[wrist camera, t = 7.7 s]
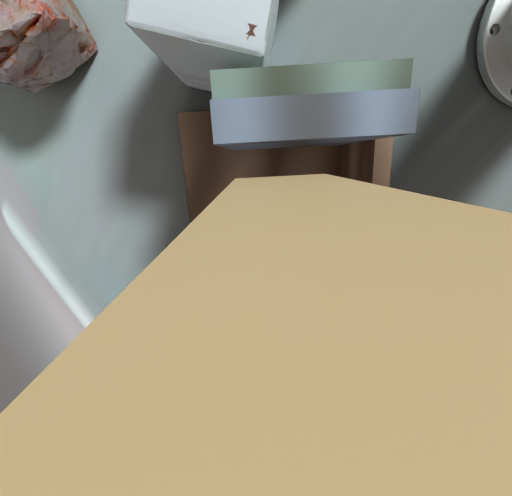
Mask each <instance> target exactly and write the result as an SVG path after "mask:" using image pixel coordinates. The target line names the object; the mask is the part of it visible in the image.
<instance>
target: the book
mask: <svg viewBox="0 0 512 496" xmlns="http://www.w3.org/2000/svg"><path fill="white" fill-rule="evenodd" d="M0 496H512V213H508V212H504V211H499V210H494V209H489V208H485V207H480V206H475V205H471V204H466V203H461V202H456V201H452V200H447V199H442V198H438V197H433V196H428V195H423V194H419V193H414V192H409V191H404V190H400V189H395V188H390V187H386V186H381V185H376V184H371V183H367V182H362V181H357V180H353V179H348V178H343V177H338V176H334V175H329V174H311V175H292V176H273V177H254V178H235V179H234V180H233V181H232V182H231V183H230V184H229V185H228V186H227V187H226V188H225V189H224V190H223V191H222V192H221V193H220V194H219V195H218V196H217V197H216V198H215V199H214V200H213V201H212V202H211V203H210V204H209V205H208V206H207V207H206V208H205V209H204V210H203V211H202V212H201V213H200V214H199V215H198V216H197V217H196V218H195V219H194V220H193V221H192V222H191V223H190V224H189V225H188V226H187V227H186V228H185V229H184V230H183V231H182V232H181V233H180V234H179V235H178V236H177V237H176V238H175V239H174V240H173V241H172V242H171V243H170V244H169V245H168V246H167V247H166V248H165V249H164V250H163V251H162V252H161V253H160V254H159V255H158V256H157V257H156V258H155V259H154V260H153V261H152V262H151V263H150V264H149V265H148V266H147V267H146V268H145V269H144V270H143V271H142V272H141V273H140V274H139V275H138V276H137V277H136V278H135V279H134V280H133V281H132V282H131V283H130V284H129V285H128V286H127V287H126V288H125V289H124V290H123V291H122V292H121V293H120V294H119V295H118V296H117V297H116V298H115V299H114V300H113V301H112V302H111V303H110V304H109V305H108V306H107V307H106V308H105V309H104V310H103V311H102V312H101V313H100V314H99V315H98V316H97V317H96V318H95V319H94V320H93V321H92V322H91V323H90V324H89V325H88V326H87V327H86V328H85V329H84V330H83V331H82V332H81V333H80V334H79V335H78V336H77V337H76V338H75V339H74V341H72V342H71V344H70V345H68V346H67V347H66V348H65V349H64V351H63V352H61V354H60V355H59V356H58V357H57V358H56V359H55V360H54V361H53V362H52V363H51V364H50V365H49V366H48V367H47V368H46V369H45V370H44V371H43V372H42V373H41V374H40V375H39V376H38V377H37V378H36V379H35V380H34V381H33V382H32V383H31V384H30V385H29V386H28V387H27V388H26V389H25V390H24V391H23V392H22V393H21V394H20V395H19V396H18V397H17V398H16V399H15V400H14V401H13V402H12V403H11V404H10V405H9V406H8V407H7V408H6V409H5V410H4V411H3V412H2V413H1V414H0Z"/></svg>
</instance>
